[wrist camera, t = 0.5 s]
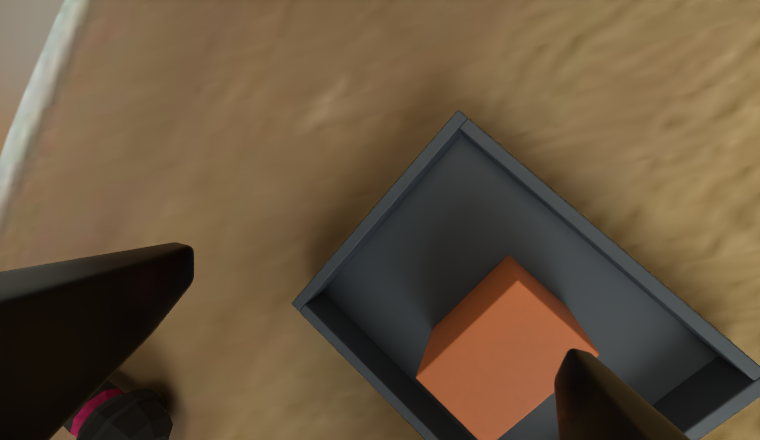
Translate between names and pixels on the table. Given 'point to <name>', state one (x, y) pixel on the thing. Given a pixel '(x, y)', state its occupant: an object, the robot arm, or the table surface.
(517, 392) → the block
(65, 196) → the table surface
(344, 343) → the grey tray
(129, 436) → the microphone
